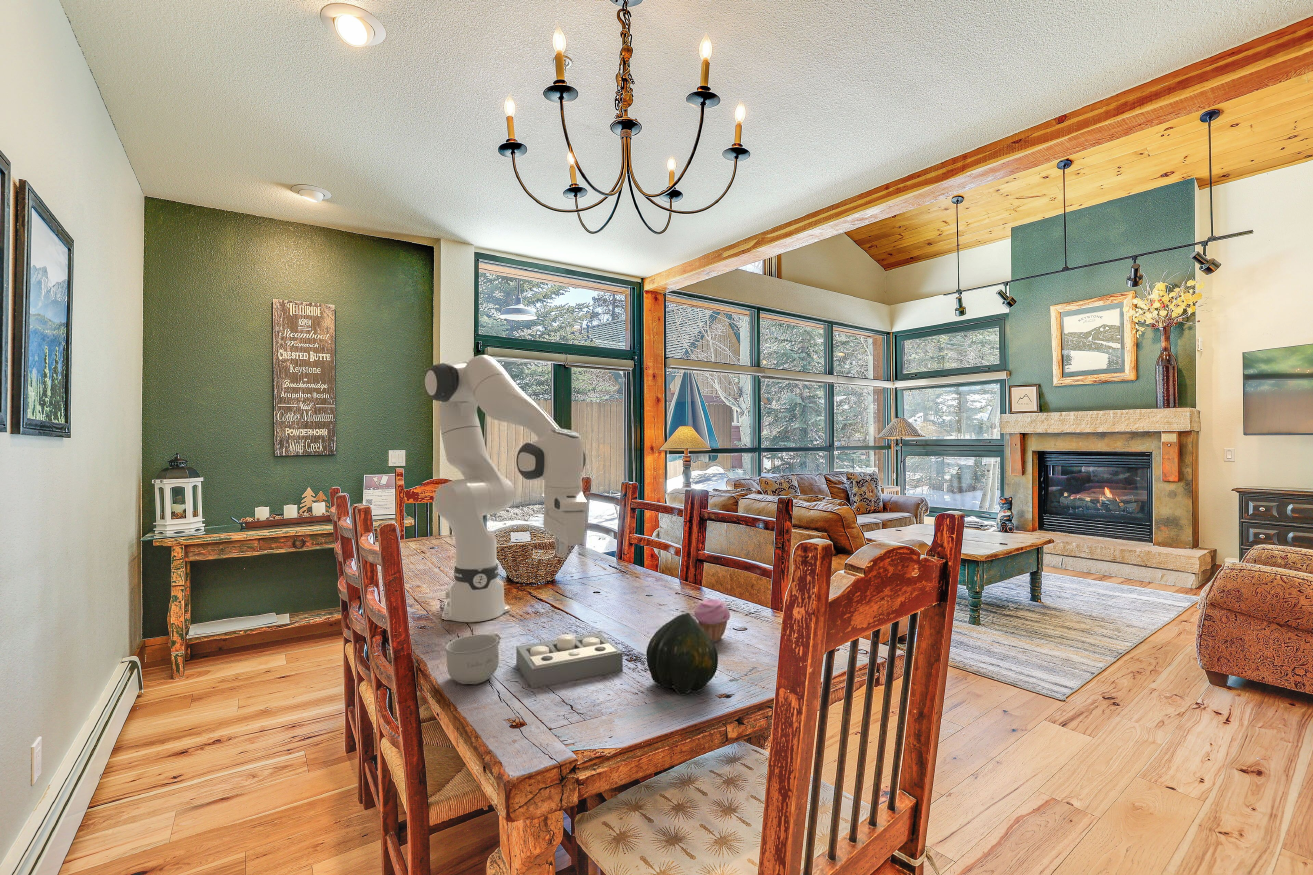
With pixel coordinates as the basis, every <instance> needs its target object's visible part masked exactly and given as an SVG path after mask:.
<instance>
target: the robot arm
mask: <svg viewBox="0 0 1313 875" xmlns="http://www.w3.org/2000/svg"><path fill="white" fill-rule="evenodd" d="M423 381H424V389H425V391H426V394H427V395H428V397H429V398H430V399H432V401H433V400H434V401H435V402H436V401H437V402H439V404H438V422H439V423H438V424H439V431H440V435H441V439H442V444H443V449H444V454H445V458H446V461H447V462H448V464H449V465H450V466H451V467H454V468H455V469H456V470H458V471H459V473H460V474H461V475H462V476H463V478H461V479H460V478H459V479H455V480H451V481H449V482H446V483H442V484H441V485H439V486H438V488H436V490H435V492H434V496H433V506H434V509H435V512H436V513H437V514H438V515H439V517H441V518H442V519H444V520H445V521H446V522H447V523H448V526H450V530H451V532H452V534H453V537H454V542H455V543H454V544H455V545H454V546H455V547H454V548H455V566H454V570H453V579H454V580H453V581H454V582H453V583H452V585H451V586H450V588H449V590H445V600H446V602H445V603H444V607H443V610H442V614H441V618H442V619H444V620H443V621H453V622H454V621H455V622H459V623H460V622H461V623H475V622H484V621H488V620H493V619H495V618H498V617H500V616H502V615H503V614H504V613H508V612H510V611H511V606H510V605H508V604H506V603H505V588H504V582H502V581H501V580H500V579H499V578H498V577H499V563H497V538H496V536H495V534H494V533H493V532H491V530H488V529H487V528H486V525H485V523H484V516H488V515H489V516H490V515H494V514H498V513H500V512H503V511H505V510H506V509H508V508H510V507H511V506H512V505H513V503H514V501H515V498H516V497H515V496H516V493H515V492H516V490H515V487H514V485H513V483H512V482H511V481H510V480H509V479H508V478H506V477H505V476H503V475H502V474H501V473H500V472H499V470H498V468H497V467H496V466H495V464H494V463H493V462H492V460H491V458H490V456H489V454H488V450H487V447H486V443H485V440H484V439H485V438H484V435H483V431H482V427H481V424H480V419H479V416H478V407H479V409H480V410H481V411H482V412H483V413H484V414H485V415H486V416H488V417H489V418H490V419H492V420H494V421H498V422H503V423H507V424H512V425H515V426H520V427H523V428H525V429H526V430H529V431H530V432H531V433H533V435H535V436H536V437H537V438H538V439H536V440H532V441H529V442H525V443H523V444H522V445H521V447H519V450H518V451H517V454H516V462H515V464H516V469H517V471H518V473H519V474H520V476H521V477H522V478H524V479H525V480H529V481H533V482H536V481H544V494H543V496H544V498H543V505H544V511H543V523H542V524H543V529H544V530H545V531H547V532H548V533H549V534H551V535H553V537H554V539H553V540H554V545H555V555H556V556H558V557H559V558H566V557H567V556H568V554H567V553H568V548H569V546H578V545H579V546H580V545H582V543H583V542H584V538H585V529H586V527H585V526H586V511H588V508H589V506H588V505H589V503H588V500H587V499H586V498H585V496H584V492H583V482H582V473H583V471H584V469H585V466H586V461H587V460H586V459H587V458H586V453H585V451H584V444H583V438H582V436H581V434H580V433H578V432H577V431H574V430H572V429H566V428H561V427H560V426H559V425H558V423H556V421H555V420H554V419H553V417H552V416H550V415H549V414H548V413H547V411H546V410H545V409H544V408H543V407H542V406H541V405H540V404H538V402H536V401H535V400H533V399H532V398H531V397H530V396H528V395H527V394H526V393H525V392H524V391H523V390H522V389H521V388H520V387H519V386H518V384H517V383H516V382H515V381H514V380H513V378H512V377H511V375H510V374H509V373H508V371H506V369H505V368H504V367H503V366H502V365H501V364H500V363H499V362H498V361H497V360H496V359H495V358H493V357H492V356H491V355H487V354H479V355H477V356H474V357H472V358H471V359H469V360H468V361H462V362H452V363H451V362H450V363H445V362H441V363H436V364H434V365H430V367H428V369H427V370H426V372H425V374H424V380H423ZM448 599H449V600H448ZM447 600H448V601H447ZM442 619H441V620H442Z"/></svg>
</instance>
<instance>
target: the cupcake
mask: <svg viewBox="0 0 1313 875" xmlns="http://www.w3.org/2000/svg"><path fill="white" fill-rule="evenodd" d="M729 609H730V608H728V605H727V604H726V603H725V602H724V601H723V600H721V599H717V598H713V599H712V598H710V599H703V600H701V601H700V603H698V604H696V606H695V609H694V613H693V615H694V619H695V620H696V621H697V623H698V624H699V625H700V626H701V628H702V629H703V630H704V631H705V632H706V633H707V635H708V636H709V637H710V638H711V640H712V641H713V643H717V642H718V641H719V640H721V639H722V637H723V635H724V634H725V632H726V630H727V624H728V622H729V620H730V617H731V613H730V610H729Z"/></svg>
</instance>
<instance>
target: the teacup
mask: <svg viewBox="0 0 1313 875" xmlns="http://www.w3.org/2000/svg"><path fill="white" fill-rule="evenodd" d="M500 642H501V641H500V634H498V632H495V631H494V632H493V631H492V632H490V633H488V634H486V633H478V634H472V635H465V636H461V637H459V638H456V639H454V640H451V641H449V642H448V643H447V644H445V648H444V649H445V652H446V654H445V656H446V667H447V673H448V675H449V677H450V678H451V679H452V680H453V681H455V682H456V683H458V684H460V683H461V684H460V685H463V684H473V685H478V684H480V683H483V682H486V681H487V680H489V679H490V678H491V677H492V676H493V674H494V673H496V671H497V670H498V667H499V663H500V662H499V661H500V658H499V656H500V653H499V652H500V651H499V645H500Z"/></svg>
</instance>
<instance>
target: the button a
mask: <svg viewBox="0 0 1313 875" xmlns="http://www.w3.org/2000/svg"><path fill="white" fill-rule="evenodd" d="M544 654H549V648H548V647H546V646H536V647H533V648H531V650H530V655H531V657H532V656H538V655H544Z"/></svg>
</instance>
